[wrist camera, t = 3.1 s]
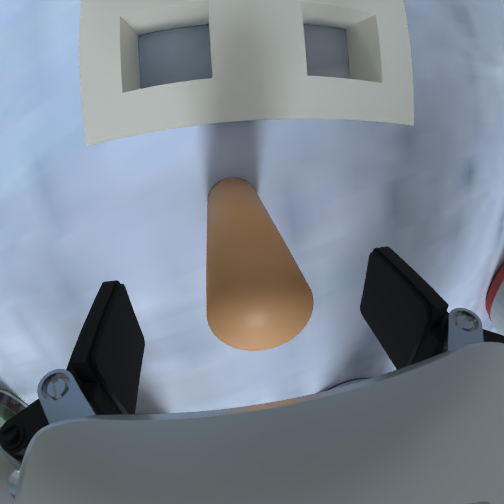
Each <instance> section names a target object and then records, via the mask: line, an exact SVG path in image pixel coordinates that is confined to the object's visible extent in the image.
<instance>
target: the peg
mask: <svg viewBox="0 0 504 504" xmlns="http://www.w3.org/2000/svg"><path fill="white" fill-rule="evenodd" d="M206 294H207V320H208V324H209V326H210V328H211V330H212V332H213V333H214V335H215V336H216V337H217V338H218V339H220V340H221V341H222V342H224V343H225V344H227V345H229V346H231V347H234V348H237V349H241V350H248V351H259V350H266V349H271V348H274V347H277V346H280V345H282V344H284V343H286V342H288V341H289V340H291V339H292V338H294V337H295V336H296V335H297V334H299V333H300V332H301V331H302V329H303V328H304V327H305V326H306V324H307V323H308V321H309V319H310V317H311V314H312V310H313V295H312V292H311V289H310V287H309V286H308V284H307V282H306V280H305V278H304V276H303V275H302V273H301V271H300V269H299V267H298V265H297V264H296V262H295V260H294V258H293V256H292V255H291V253H290V251H289V249H288V247H287V246H286V244H285V242H284V240H283V239H282V237H281V235H280V233H279V231H278V230H277V228H276V226H275V224H274V223H273V221H272V219H271V217H270V216H269V214H268V212H267V210H266V209H265V207H264V205H263V203H262V202H261V200H260V198H259V197H258V195H257V193H256V191H255V190H254V188H253V187H252V185H250V184H249V183H248V182H247V181H245V180H243V179H240V178H227V179H224V180H221V181H220V182H218V183H217V184H216V185H215V186H214V187H213V188H212V189H211V191H210V193H209V196H208V206H207V262H206Z"/></svg>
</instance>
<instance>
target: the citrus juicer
mask: <svg viewBox="0 0 504 504" xmlns="http://www.w3.org/2000/svg"><path fill="white" fill-rule="evenodd" d="M486 310H487V313H488V315H489V318H490V320H491V321H492V323H493V325H494V327H495V329H496V331H497V332H498V334H500V335H503V336H504V264H503V266H502V267H501V269H500V270H499V271H498V273H497V275H496V277H495V278H494V280H493V282H492V284H491V287H490V289H489V292H488V294H487V297H486Z"/></svg>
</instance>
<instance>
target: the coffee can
mask: <svg viewBox="0 0 504 504" xmlns="http://www.w3.org/2000/svg"><path fill="white" fill-rule="evenodd" d="M27 406H28V405H27V404H26V403H24V402H23V401H22V400H21V399H19V398H18V397H16V396H14V395H13V394H11V393H9V392H7V391H5V390H2V389H0V430H1V427H2V426H3V424H4V423H5V422H6V421H7V420H9V419H10V418H12V417H13V416H15V415H16V414H17V413H19V412H20V411H22V410H23V409H25V408H26V407H27Z"/></svg>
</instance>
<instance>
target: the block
mask: <svg viewBox="0 0 504 504" xmlns="http://www.w3.org/2000/svg"><path fill="white" fill-rule="evenodd" d="M206 24H209V40H210V56H211V71H212V78H207V79H198V80H190V81H183V82H176V83H170V84H164V85H158V86H152V87H147V88H142V89H141V84H140V68H139V45H138V35H142V34H147V33H151V32H157V31H162V30H168V29H174V28H181V27H188V26H196V25H206ZM303 24H309V25H319V26H327V27H335V28H341V29H346V37H347V48H348V59H349V74H350V79H347V78H337V77H324V76H307V63H306V50H305V38H304V27H303ZM79 68H80V89H81V103H82V114H83V123H84V131H85V139H86V146H90V145H94V144H98V143H102V142H106V141H110V140H115V139H119V138H124V137H129V136H134V135H139V134H144V133H149V132H155V131H161V130H167V129H174V128H180V127H188V126H195V125H204V124H213V123H223V122H234V121H248V120H267V119H343V120H361V121H374V122H386V123H395V124H404V125H412V126H414V86H413V69H412V57H411V47H410V38H409V31H408V24H407V17H406V12H405V6H404V1H403V0H81V10H80V30H79Z"/></svg>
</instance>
